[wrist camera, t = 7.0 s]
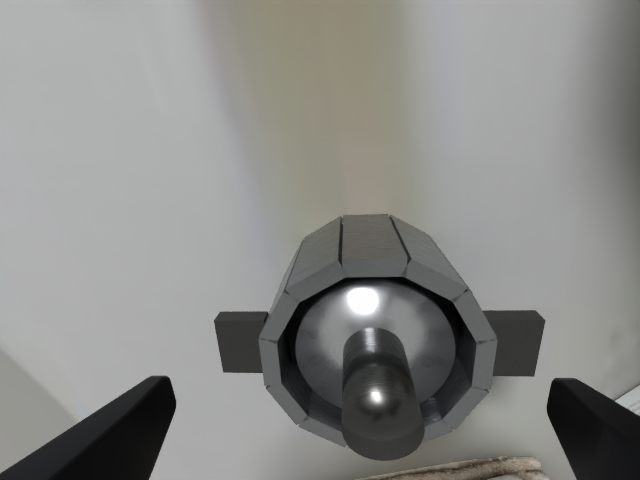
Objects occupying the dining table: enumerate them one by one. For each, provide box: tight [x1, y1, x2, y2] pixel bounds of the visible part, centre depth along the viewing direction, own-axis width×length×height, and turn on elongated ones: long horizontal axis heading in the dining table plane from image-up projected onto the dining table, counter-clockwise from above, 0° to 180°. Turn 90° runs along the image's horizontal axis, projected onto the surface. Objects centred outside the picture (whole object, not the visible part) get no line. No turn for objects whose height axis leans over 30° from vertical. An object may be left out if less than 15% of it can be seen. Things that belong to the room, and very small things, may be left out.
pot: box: [214, 214, 545, 448], centre depth 17 cm, size 15×10×6 cm
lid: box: [296, 277, 455, 461], centre depth 14 cm, size 7×7×5 cm
